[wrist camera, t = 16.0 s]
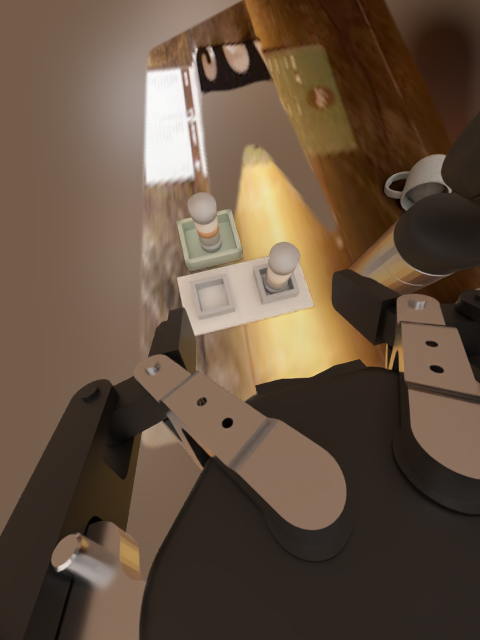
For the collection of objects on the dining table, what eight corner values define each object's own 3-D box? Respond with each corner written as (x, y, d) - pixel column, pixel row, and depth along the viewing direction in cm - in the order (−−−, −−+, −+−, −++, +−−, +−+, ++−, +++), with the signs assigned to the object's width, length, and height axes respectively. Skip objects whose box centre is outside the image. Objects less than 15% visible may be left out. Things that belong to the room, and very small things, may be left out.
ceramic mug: (435, 187, 49) (468, 153, 42) (428, 218, 48) (462, 189, 40) (385, 174, 51) (410, 139, 43) (377, 204, 49) (401, 173, 41)
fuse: (282, 271, 44) (294, 239, 34) (288, 292, 43) (303, 265, 33) (260, 276, 44) (266, 246, 33) (266, 297, 43) (274, 272, 33)
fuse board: (294, 252, 46) (298, 242, 43) (312, 307, 44) (318, 301, 40) (178, 279, 45) (173, 272, 42) (190, 337, 43) (185, 334, 39)
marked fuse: (219, 231, 47) (212, 189, 36) (224, 250, 46) (218, 212, 35) (198, 236, 47) (185, 195, 36) (202, 255, 46) (190, 219, 35)
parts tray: (231, 218, 48) (230, 208, 45) (242, 258, 46) (242, 251, 43) (180, 230, 48) (176, 220, 45) (189, 271, 46) (185, 264, 43)
